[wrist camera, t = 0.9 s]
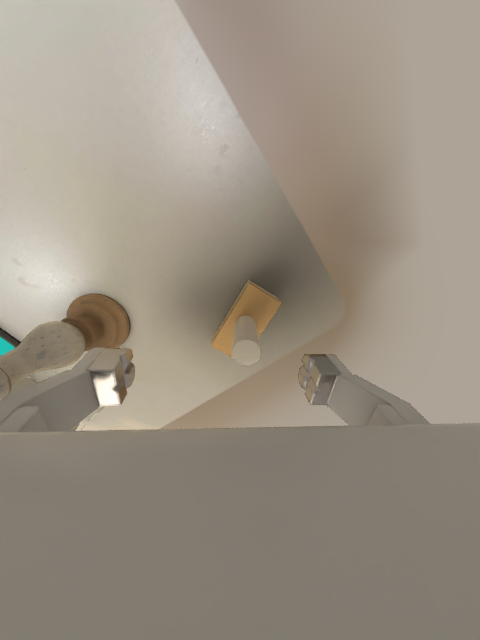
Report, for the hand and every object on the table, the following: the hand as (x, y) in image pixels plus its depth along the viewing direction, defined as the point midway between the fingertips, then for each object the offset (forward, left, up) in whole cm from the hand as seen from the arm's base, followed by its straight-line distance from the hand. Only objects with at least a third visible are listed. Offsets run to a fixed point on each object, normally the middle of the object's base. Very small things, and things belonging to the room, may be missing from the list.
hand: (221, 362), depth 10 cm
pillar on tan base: (+3, +3, -21) cm, 21 cm away
